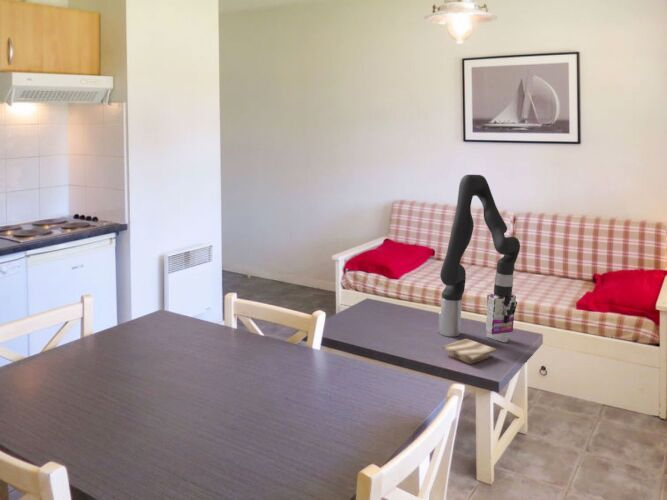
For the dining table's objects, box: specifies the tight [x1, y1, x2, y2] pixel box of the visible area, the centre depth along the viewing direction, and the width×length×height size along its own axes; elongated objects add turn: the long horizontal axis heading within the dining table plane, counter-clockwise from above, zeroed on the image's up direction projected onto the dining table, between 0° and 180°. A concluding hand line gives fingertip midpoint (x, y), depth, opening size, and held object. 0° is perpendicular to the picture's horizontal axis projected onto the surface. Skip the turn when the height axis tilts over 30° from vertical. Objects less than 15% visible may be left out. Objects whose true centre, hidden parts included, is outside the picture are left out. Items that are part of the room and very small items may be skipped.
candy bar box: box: [485, 293, 516, 334], centre depth 280 cm, size 11×5×16 cm, turn 113°
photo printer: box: [486, 331, 509, 343], centre depth 298 cm, size 10×4×12 cm, turn 39°
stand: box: [441, 338, 497, 365], centre depth 276 cm, size 16×16×4 cm
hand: (499, 320), depth 280 cm, fingers closed on candy bar box, 5 cm apart
